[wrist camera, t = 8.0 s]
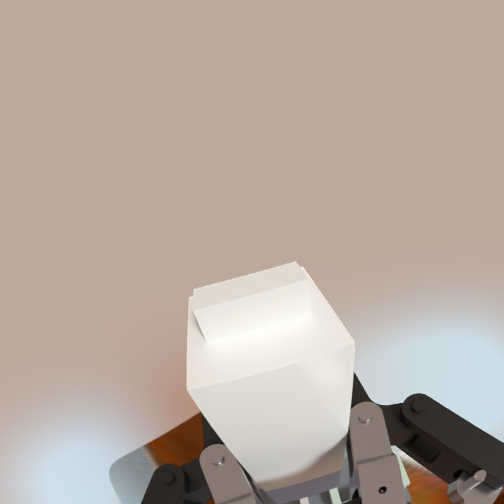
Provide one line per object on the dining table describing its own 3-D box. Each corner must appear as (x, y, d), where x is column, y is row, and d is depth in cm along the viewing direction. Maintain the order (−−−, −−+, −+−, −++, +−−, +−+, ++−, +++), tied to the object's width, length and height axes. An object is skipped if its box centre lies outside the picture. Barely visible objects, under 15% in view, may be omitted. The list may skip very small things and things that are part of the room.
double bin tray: (237, 543, 14) (228, 542, 13) (232, 474, 22) (223, 466, 21) (410, 501, 14) (418, 495, 13) (384, 437, 22) (389, 426, 21)
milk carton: (277, 504, 11) (166, 358, 5) (265, 457, 14) (178, 269, 8) (338, 486, 11) (355, 305, 5) (320, 441, 14) (298, 237, 8)
